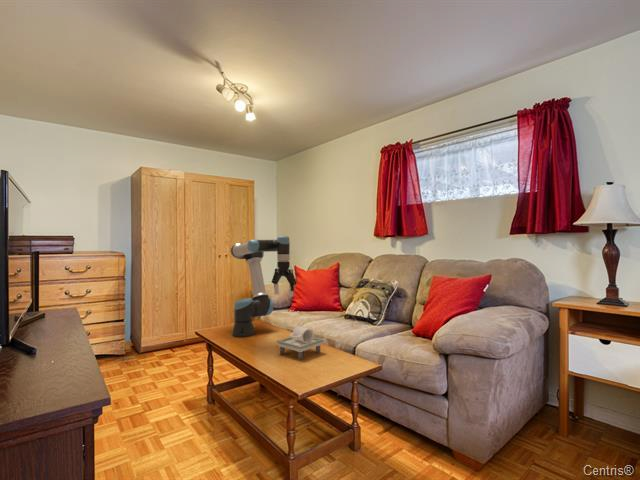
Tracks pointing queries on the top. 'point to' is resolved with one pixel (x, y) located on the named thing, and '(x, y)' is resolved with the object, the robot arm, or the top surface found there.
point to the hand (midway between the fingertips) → (283, 295)
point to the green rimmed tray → (299, 345)
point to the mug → (302, 334)
